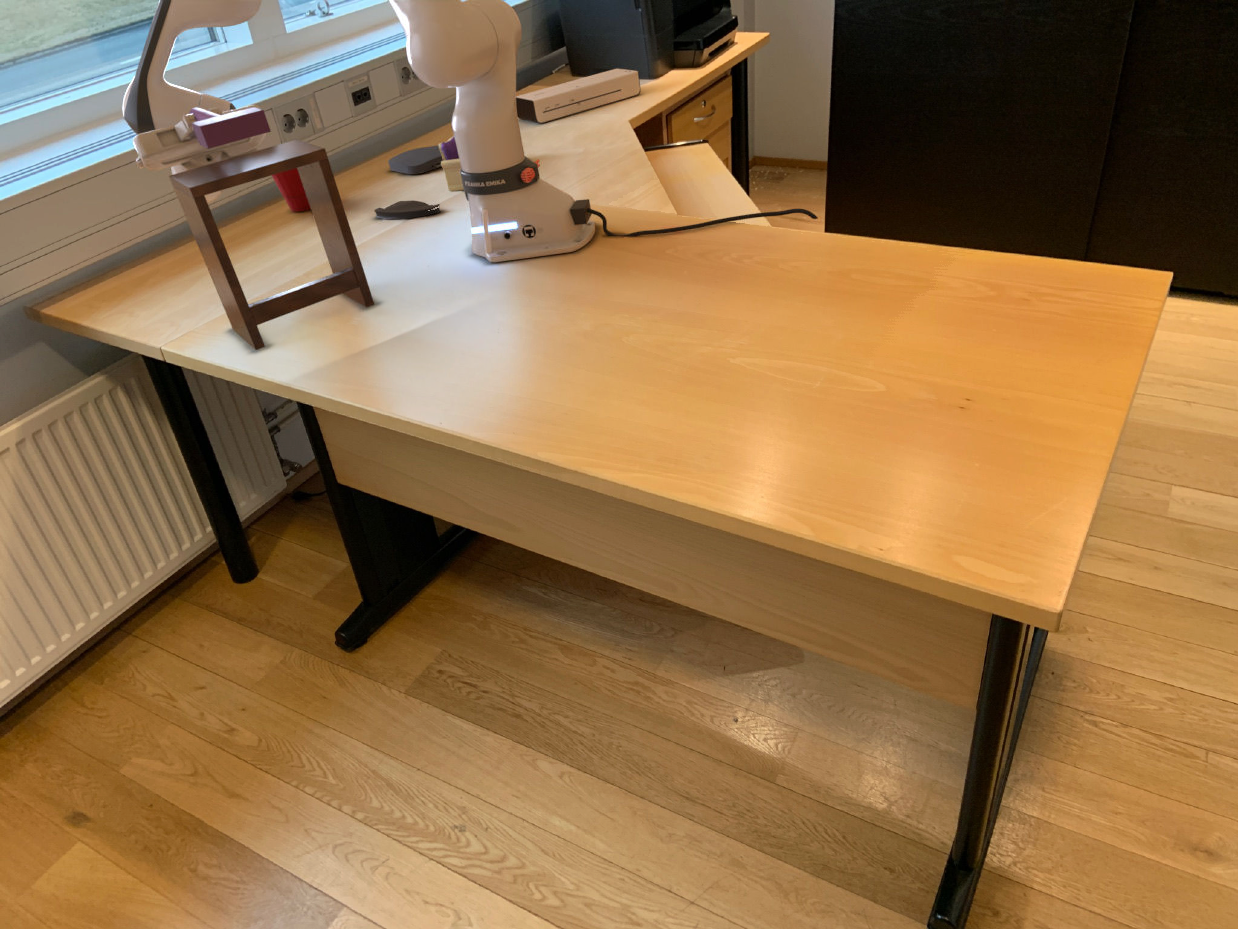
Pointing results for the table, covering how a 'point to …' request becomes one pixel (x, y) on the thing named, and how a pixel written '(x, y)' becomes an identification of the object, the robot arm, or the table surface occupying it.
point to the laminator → (578, 95)
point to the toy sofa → (451, 164)
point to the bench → (325, 213)
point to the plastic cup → (292, 190)
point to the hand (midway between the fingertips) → (203, 115)
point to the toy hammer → (228, 126)
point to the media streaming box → (417, 160)
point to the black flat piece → (406, 210)
